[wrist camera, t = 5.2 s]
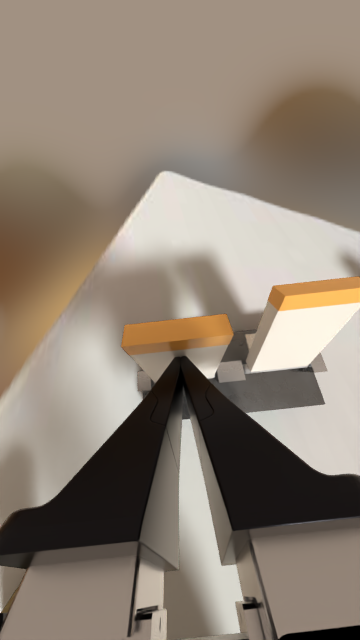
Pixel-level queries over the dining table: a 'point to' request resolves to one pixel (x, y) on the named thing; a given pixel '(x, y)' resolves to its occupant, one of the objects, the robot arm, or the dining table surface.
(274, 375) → the light switch frame
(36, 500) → the dining table surface
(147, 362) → the panel
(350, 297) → the white orange-topped slab
